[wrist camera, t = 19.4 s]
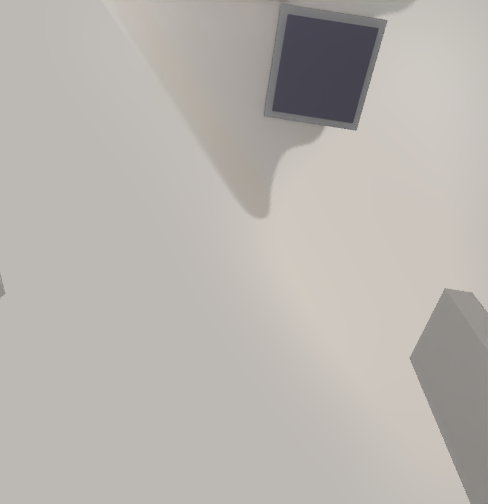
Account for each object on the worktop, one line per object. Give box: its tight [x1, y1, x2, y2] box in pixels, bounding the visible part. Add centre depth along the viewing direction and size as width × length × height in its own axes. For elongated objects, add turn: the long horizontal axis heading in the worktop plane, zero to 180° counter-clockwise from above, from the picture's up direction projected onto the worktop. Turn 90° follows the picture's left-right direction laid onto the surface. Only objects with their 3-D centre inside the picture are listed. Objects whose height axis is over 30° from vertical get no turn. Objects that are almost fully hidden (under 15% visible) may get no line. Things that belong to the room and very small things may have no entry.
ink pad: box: [264, 4, 387, 130], centre depth 32 cm, size 9×9×2 cm
